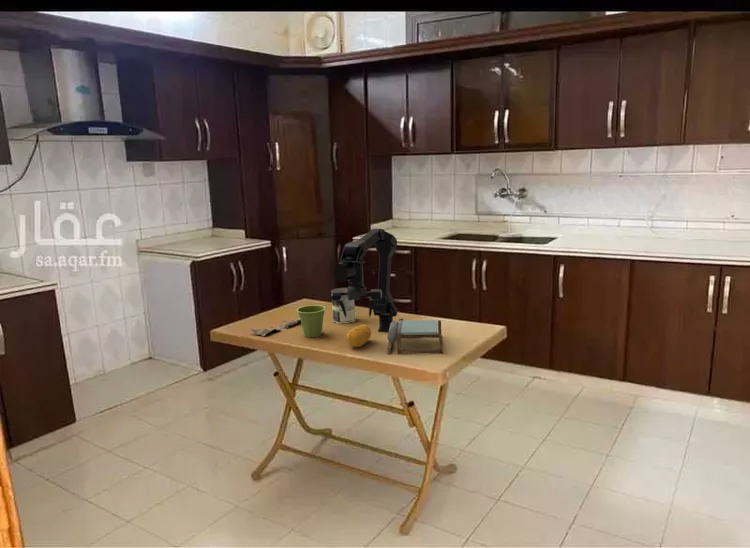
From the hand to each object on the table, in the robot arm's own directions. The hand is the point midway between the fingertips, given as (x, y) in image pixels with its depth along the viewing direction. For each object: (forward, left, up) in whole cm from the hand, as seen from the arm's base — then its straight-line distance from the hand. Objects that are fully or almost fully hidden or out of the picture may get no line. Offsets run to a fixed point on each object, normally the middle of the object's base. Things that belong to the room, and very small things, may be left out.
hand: (357, 316), depth 208 cm
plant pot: (-14, -21, -12) cm, 28 cm away
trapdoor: (+1, +21, -8) cm, 22 cm away
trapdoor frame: (+1, +21, -11) cm, 24 cm away
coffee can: (-35, -11, -12) cm, 38 cm away
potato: (0, 0, -12) cm, 12 cm away
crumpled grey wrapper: (-29, -36, -12) cm, 48 cm away
